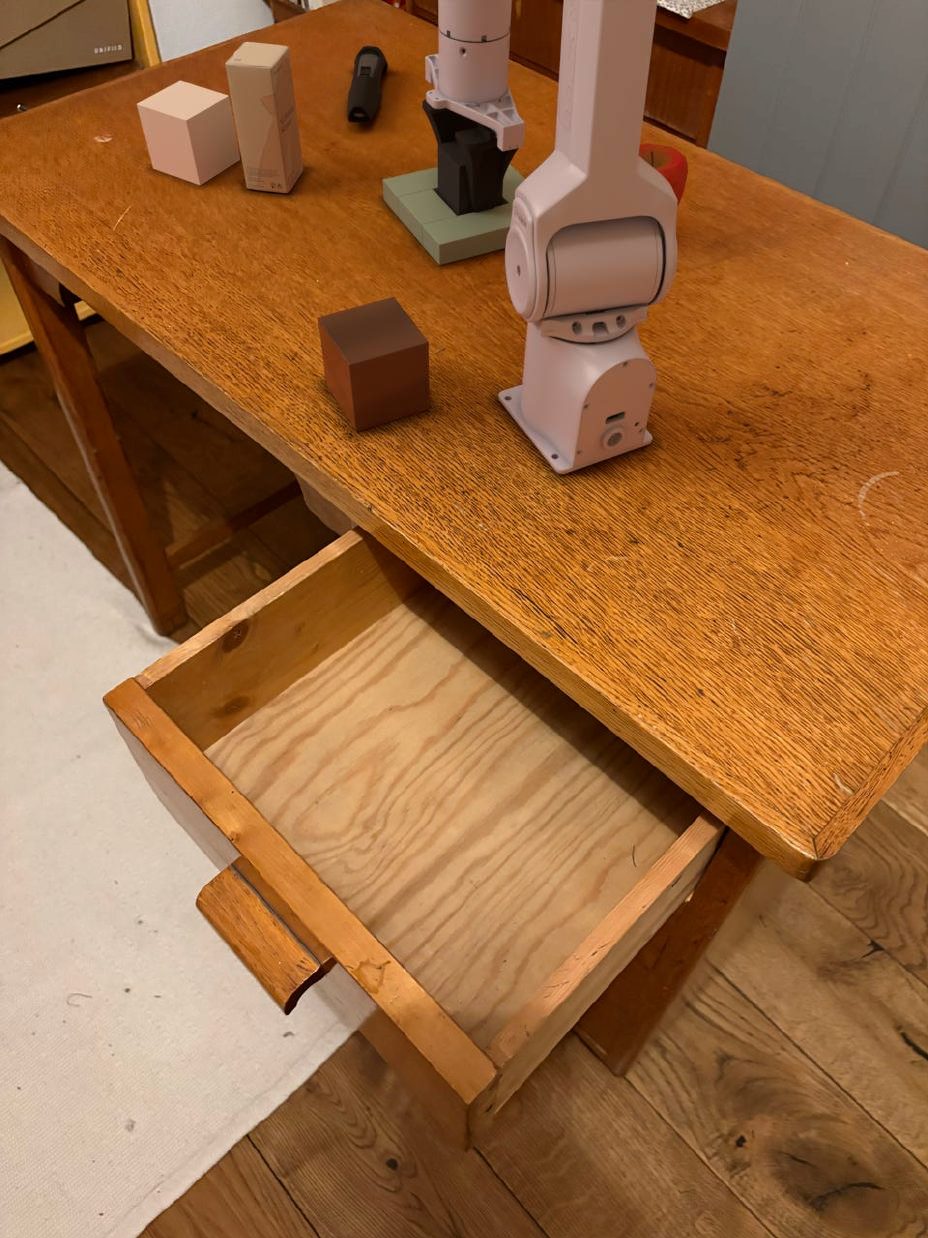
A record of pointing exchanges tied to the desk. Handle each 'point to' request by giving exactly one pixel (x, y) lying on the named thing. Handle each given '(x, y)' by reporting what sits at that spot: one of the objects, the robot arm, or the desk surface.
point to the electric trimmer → (366, 84)
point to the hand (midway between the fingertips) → (470, 195)
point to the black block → (455, 179)
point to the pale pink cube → (189, 132)
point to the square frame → (449, 216)
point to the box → (265, 116)
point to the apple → (667, 165)
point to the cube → (375, 363)
